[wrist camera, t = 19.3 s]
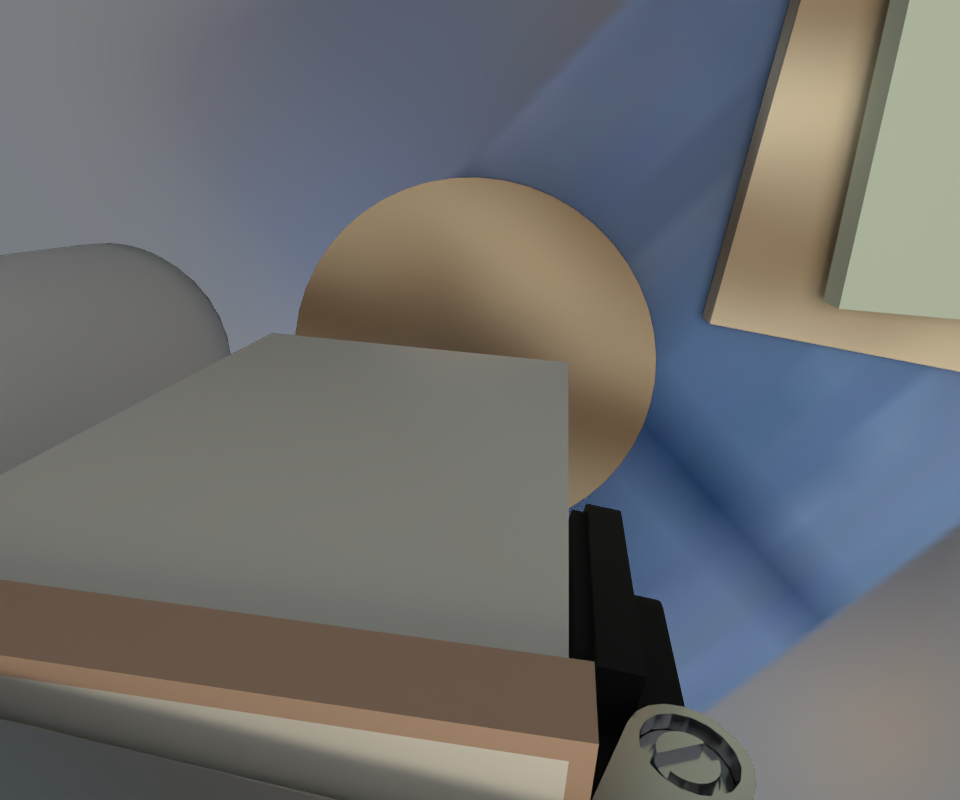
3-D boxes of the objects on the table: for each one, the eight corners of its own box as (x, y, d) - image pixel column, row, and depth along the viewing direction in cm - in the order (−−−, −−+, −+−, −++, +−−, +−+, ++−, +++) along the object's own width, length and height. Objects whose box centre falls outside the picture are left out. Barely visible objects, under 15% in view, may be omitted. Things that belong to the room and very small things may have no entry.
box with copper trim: (577, 354, 12) (598, 743, 4) (533, 728, 15) (487, 1456, 6) (263, 323, 13) (-325, 607, 4) (273, 690, 15) (-86, 1316, 7)
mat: (607, 553, 25) (608, 562, 25) (287, 485, 26) (281, 492, 25) (696, 215, 21) (699, 216, 21) (319, 146, 22) (312, 145, 22)
